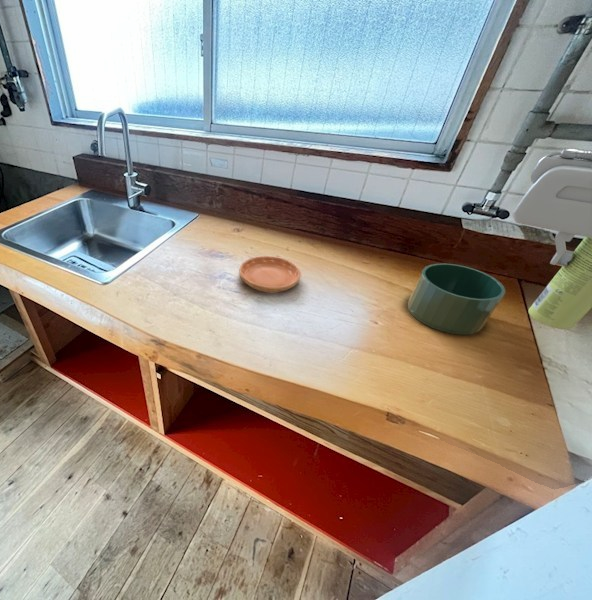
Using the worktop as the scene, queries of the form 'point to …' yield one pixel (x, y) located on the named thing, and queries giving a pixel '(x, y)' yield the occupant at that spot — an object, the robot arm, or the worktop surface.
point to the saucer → (269, 273)
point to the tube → (567, 292)
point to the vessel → (455, 298)
